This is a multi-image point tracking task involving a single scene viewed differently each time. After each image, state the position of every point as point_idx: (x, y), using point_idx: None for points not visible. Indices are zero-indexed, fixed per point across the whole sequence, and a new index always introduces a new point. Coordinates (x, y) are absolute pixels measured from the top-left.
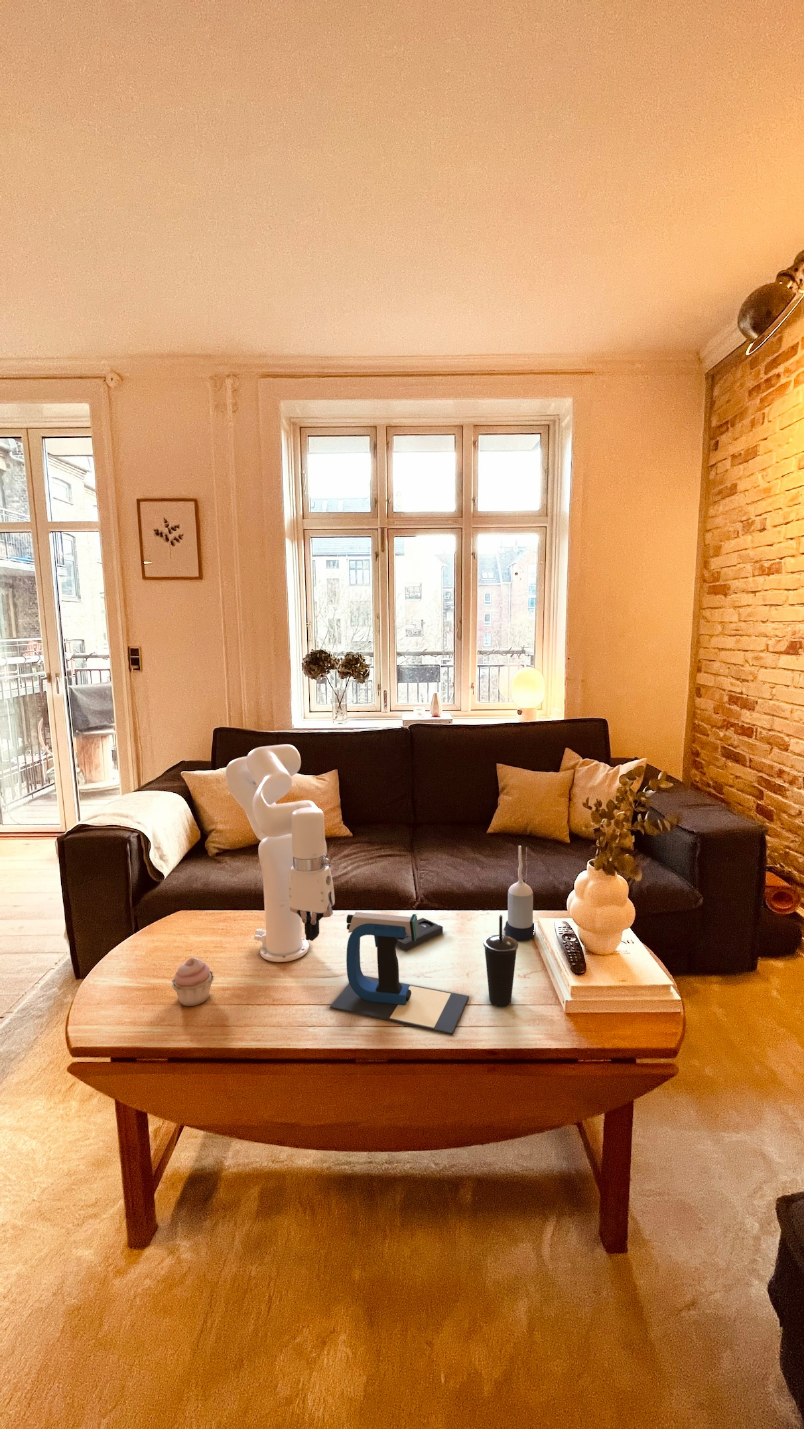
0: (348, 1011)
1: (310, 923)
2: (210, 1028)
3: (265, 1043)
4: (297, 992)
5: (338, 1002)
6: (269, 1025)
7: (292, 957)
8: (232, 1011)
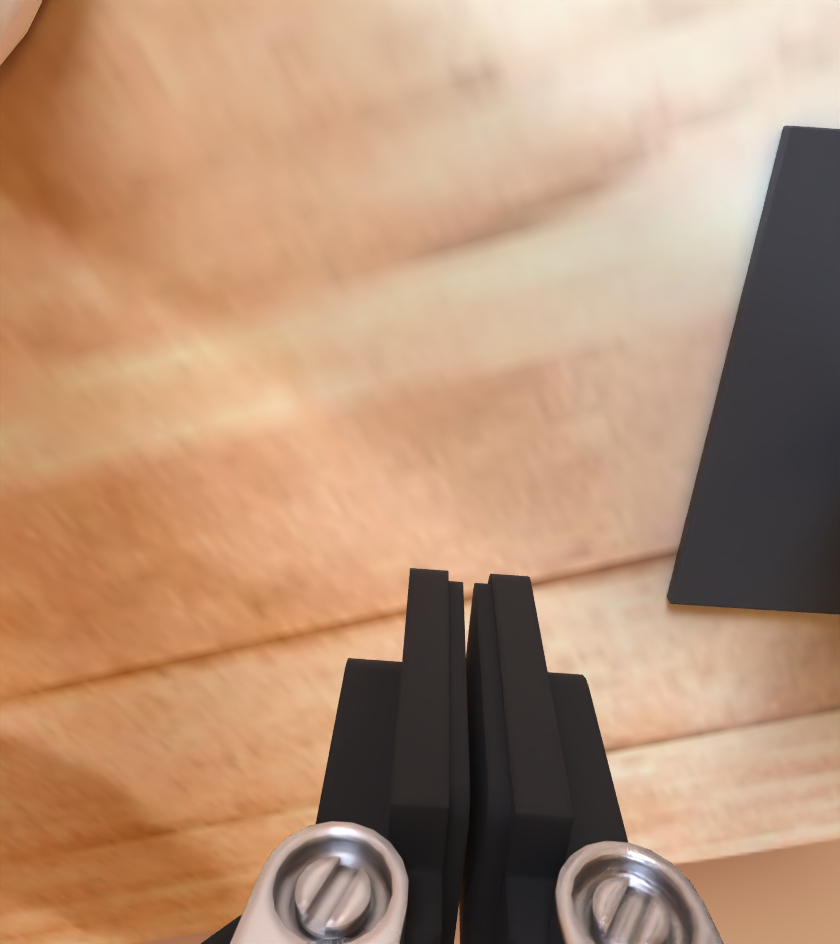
0: (807, 610)
1: (453, 933)
2: (95, 858)
3: None
4: (365, 492)
5: (720, 555)
6: None
7: (12, 27)
8: (93, 741)
